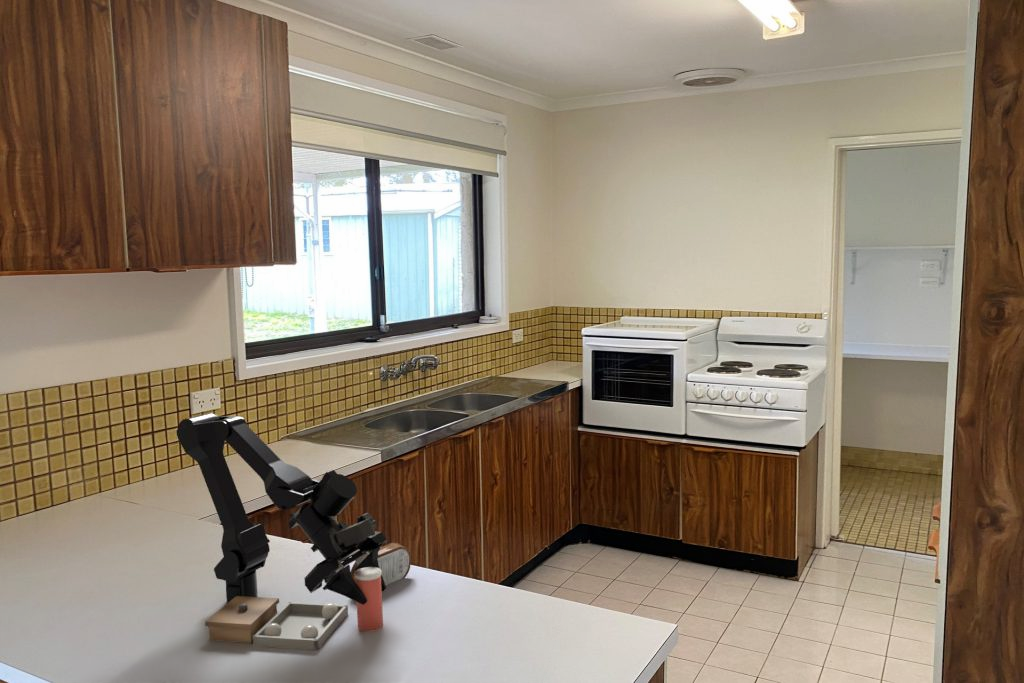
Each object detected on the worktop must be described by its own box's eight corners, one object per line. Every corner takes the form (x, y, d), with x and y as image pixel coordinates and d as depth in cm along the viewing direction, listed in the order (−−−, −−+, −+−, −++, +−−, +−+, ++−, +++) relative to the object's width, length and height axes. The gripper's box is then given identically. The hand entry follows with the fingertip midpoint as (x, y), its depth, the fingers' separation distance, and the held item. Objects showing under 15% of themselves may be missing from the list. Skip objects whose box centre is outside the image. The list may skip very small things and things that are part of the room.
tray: (289, 614, 154) (288, 602, 154) (348, 617, 152) (347, 605, 151) (253, 650, 140) (252, 636, 140) (317, 654, 138) (316, 640, 138)
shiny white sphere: (269, 635, 144) (268, 619, 143) (285, 636, 143) (283, 620, 143) (261, 643, 141) (260, 627, 140) (277, 644, 140) (276, 628, 140)
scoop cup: (362, 622, 149) (360, 566, 148) (387, 624, 149) (385, 567, 147) (353, 635, 145) (350, 577, 143) (378, 636, 144) (376, 578, 143)
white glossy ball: (305, 637, 142) (304, 621, 142) (321, 638, 142) (320, 622, 142) (298, 645, 140) (297, 629, 139) (314, 646, 139) (313, 630, 139)
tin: (404, 574, 172) (402, 537, 171) (414, 578, 170) (412, 540, 169) (349, 599, 160) (347, 558, 159) (359, 603, 158) (357, 562, 157)
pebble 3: (326, 615, 151) (325, 599, 151) (341, 615, 151) (340, 600, 150) (319, 622, 148) (318, 606, 148) (334, 623, 148) (333, 607, 147)
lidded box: (237, 617, 153) (236, 591, 152) (280, 620, 151) (278, 593, 151) (206, 645, 142) (204, 616, 142) (252, 648, 141) (250, 619, 140)
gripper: (313, 520, 137) (369, 591, 134) (376, 490, 154) (427, 552, 151) (281, 557, 142) (334, 627, 138) (345, 524, 158) (394, 586, 155)
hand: (375, 596), depth 145 cm, fingers open, 6 cm apart
